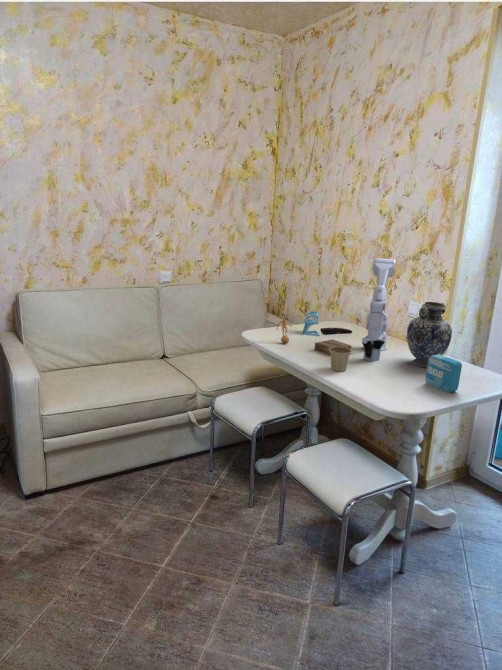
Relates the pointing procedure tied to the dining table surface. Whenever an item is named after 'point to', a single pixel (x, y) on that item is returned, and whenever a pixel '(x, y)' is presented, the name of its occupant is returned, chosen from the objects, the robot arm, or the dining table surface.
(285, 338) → the figurine
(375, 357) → the slate cube
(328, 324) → the dining table surface
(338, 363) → the flower pot
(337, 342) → the walnut base block
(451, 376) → the data package
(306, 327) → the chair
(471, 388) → the dining table surface
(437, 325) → the decorative vase
